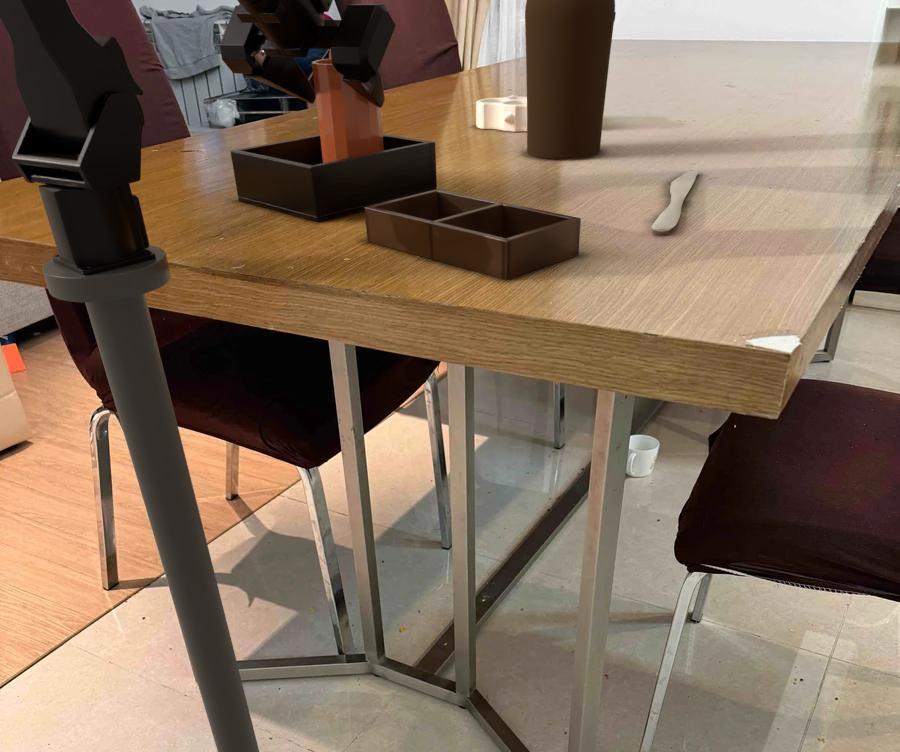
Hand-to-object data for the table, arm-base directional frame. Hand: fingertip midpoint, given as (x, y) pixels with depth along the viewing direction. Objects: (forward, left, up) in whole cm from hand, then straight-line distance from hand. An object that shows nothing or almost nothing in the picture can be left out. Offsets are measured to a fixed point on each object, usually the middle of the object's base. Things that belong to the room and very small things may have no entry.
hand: (347, 101), depth 90 cm
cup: (0, 0, -8) cm, 8 cm away
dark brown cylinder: (+31, -4, -9) cm, 33 cm away
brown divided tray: (-8, -26, -9) cm, 29 cm away
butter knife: (+18, -30, -9) cm, 37 cm away
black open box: (-3, 0, -9) cm, 9 cm away
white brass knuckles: (+45, +13, -9) cm, 48 cm away
